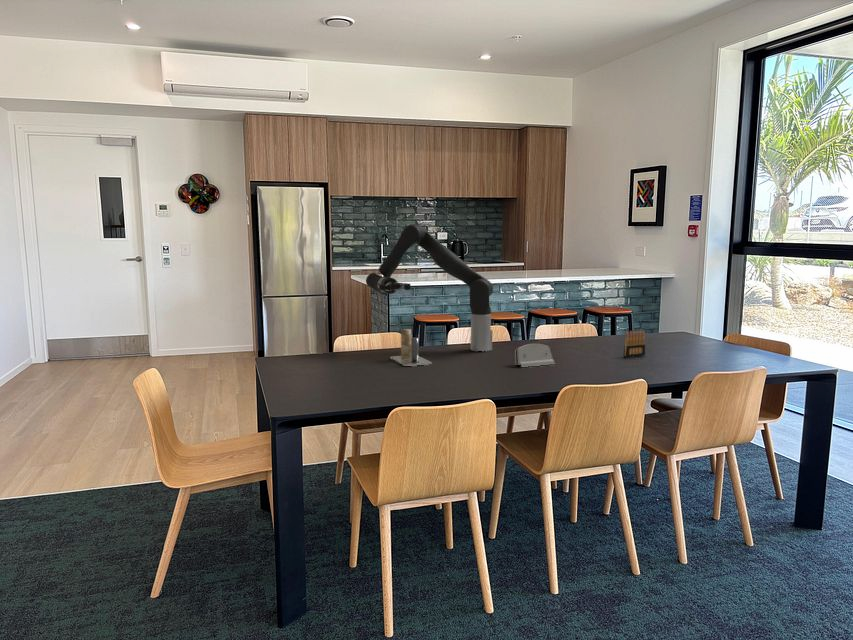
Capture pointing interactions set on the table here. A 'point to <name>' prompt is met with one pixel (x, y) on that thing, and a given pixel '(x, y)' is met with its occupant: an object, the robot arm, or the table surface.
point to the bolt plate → (408, 361)
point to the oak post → (405, 343)
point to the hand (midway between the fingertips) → (399, 288)
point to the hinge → (533, 355)
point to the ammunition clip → (634, 344)
